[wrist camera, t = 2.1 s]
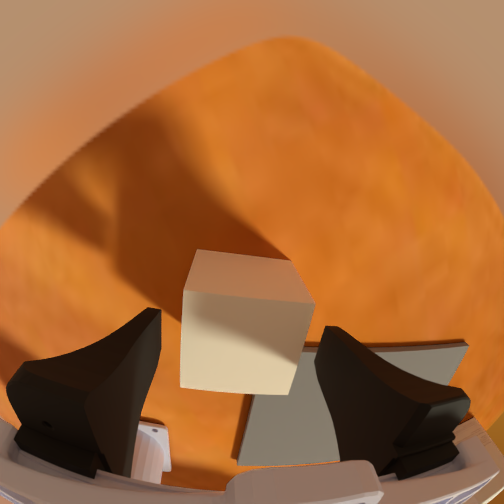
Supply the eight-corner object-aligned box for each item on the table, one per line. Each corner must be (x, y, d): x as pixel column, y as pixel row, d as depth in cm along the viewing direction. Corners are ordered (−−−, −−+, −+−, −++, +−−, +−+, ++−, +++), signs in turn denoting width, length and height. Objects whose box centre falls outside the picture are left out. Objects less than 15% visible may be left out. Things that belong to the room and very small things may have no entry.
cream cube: (190, 329, 17) (180, 386, 12) (197, 248, 15) (183, 290, 10) (273, 337, 17) (288, 395, 12) (290, 260, 16) (315, 303, 11)
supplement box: (415, 463, 26) (447, 529, 14) (437, 432, 24) (480, 505, 12) (453, 447, 27) (487, 503, 15) (476, 415, 25) (519, 475, 13)
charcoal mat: (236, 460, 21) (237, 465, 21) (264, 344, 17) (265, 350, 17) (401, 443, 23) (403, 447, 23) (465, 342, 19) (469, 345, 19)
